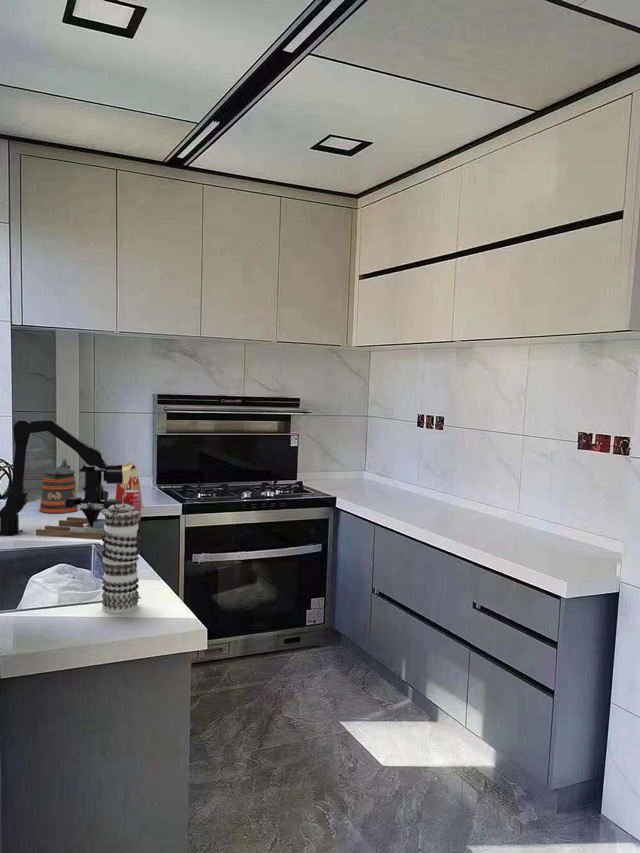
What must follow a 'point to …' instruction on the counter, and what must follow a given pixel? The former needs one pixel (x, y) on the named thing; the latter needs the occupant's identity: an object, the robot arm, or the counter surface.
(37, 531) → the brown bars
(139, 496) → the soda can
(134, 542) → the decorative candle
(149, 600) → the counter surface
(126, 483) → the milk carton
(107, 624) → the counter surface
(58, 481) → the beer stein
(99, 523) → the slate block
